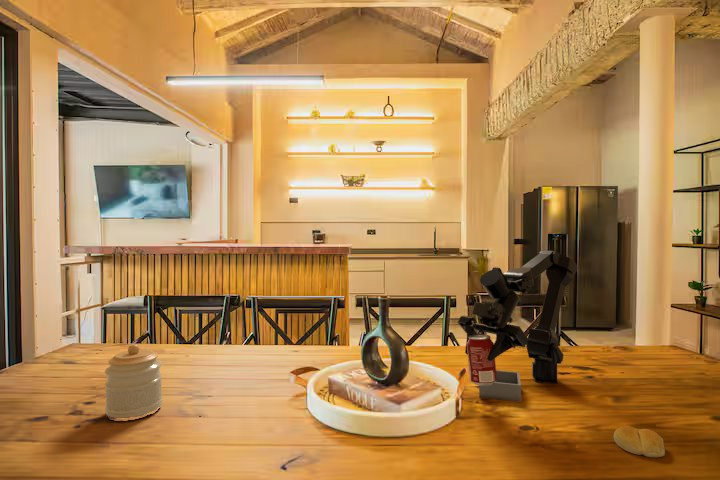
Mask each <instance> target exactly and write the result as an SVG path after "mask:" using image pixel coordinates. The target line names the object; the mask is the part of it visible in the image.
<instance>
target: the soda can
mask: <svg viewBox="0 0 720 480" xmlns="http://www.w3.org/2000/svg"><path fill="white" fill-rule="evenodd" d="M494 343H495V342H493V340H492V339H491V335H488V334H478V335H472V336H469V341H468V342H467V351H468V355H467V361H468V373H469V381H470V383H473V384H474V385H476V386H479V385H480V386H488V385H492V384H493V383H495V382H496V381H497V376H496V370H497V367H496V358H494V359H493V360H492V361H489V360H488V359H487V358H488V355H489V353H490V351H491V349H492V347H493V345H494Z"/></svg>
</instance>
